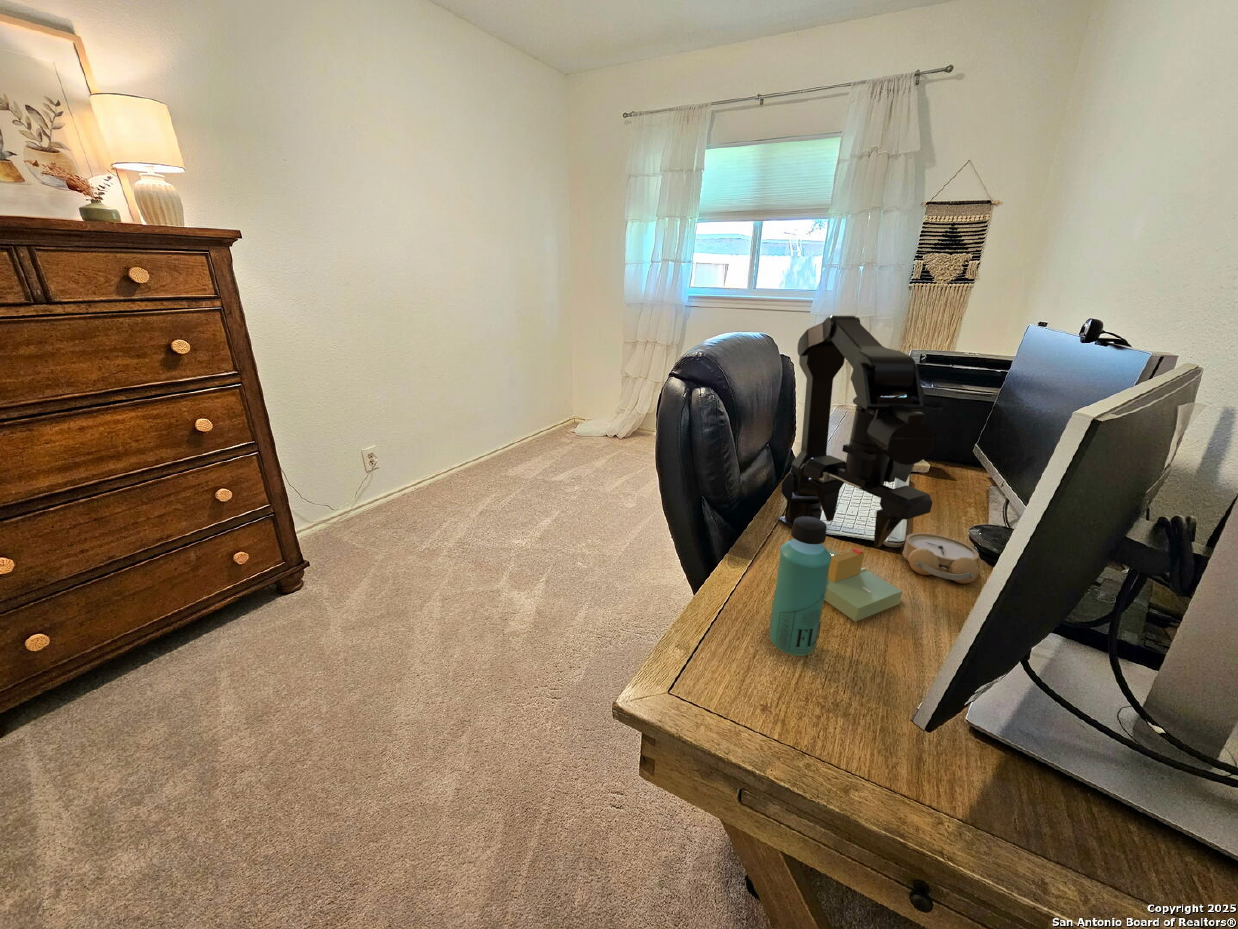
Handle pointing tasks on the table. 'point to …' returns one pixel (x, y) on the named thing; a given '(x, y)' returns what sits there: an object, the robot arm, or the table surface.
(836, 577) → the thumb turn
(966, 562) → the alarm clock
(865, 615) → the plate
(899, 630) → the table surface
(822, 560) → the beverage bottle
